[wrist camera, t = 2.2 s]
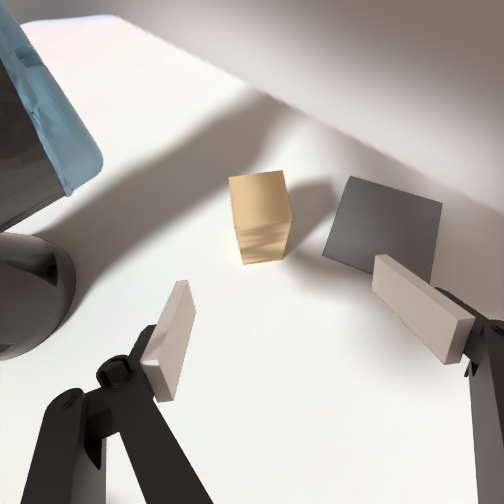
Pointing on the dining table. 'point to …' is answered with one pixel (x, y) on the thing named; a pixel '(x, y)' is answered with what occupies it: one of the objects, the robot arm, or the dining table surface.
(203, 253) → the dining table surface
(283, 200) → the oak block
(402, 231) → the coaster mat
